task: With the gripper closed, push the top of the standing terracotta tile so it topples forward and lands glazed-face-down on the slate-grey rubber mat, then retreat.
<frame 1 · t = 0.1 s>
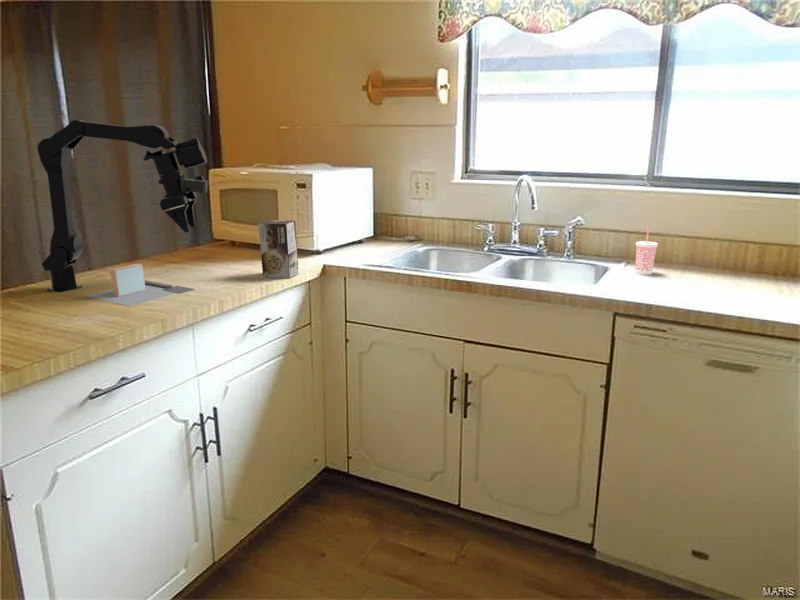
hand: (190, 229, 161), 15 cm above the worktop, tool pointing down, fingers open, 9 cm apart
coffee box: (280, 276, 175), on the worktop
beverage cup: (643, 273, 176), on the worktop
mat: (135, 295, 155), on the worktop
turner: (169, 289, 160), on the worktop
tile: (130, 292, 155), resting on mat
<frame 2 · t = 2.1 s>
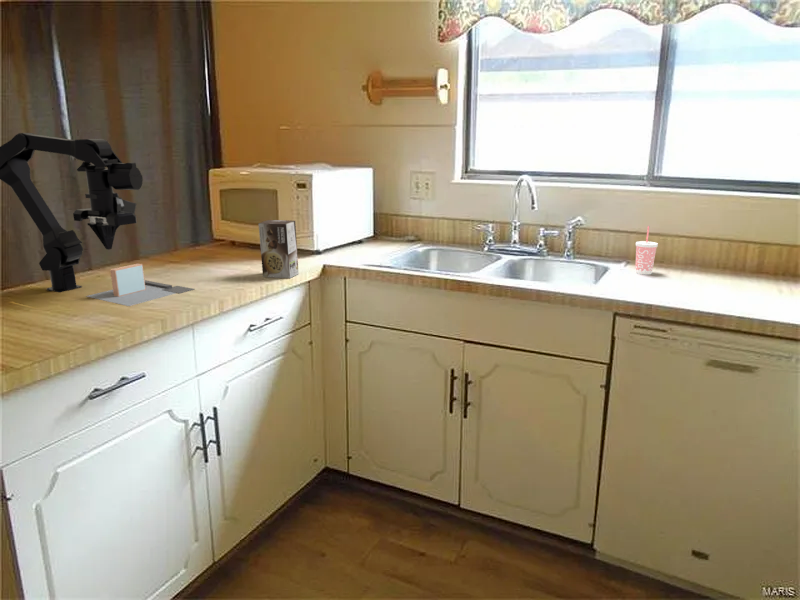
hand: (109, 249, 156), 11 cm above the worktop, tool pointing down, fingers closed
nothing on the worktop moved.
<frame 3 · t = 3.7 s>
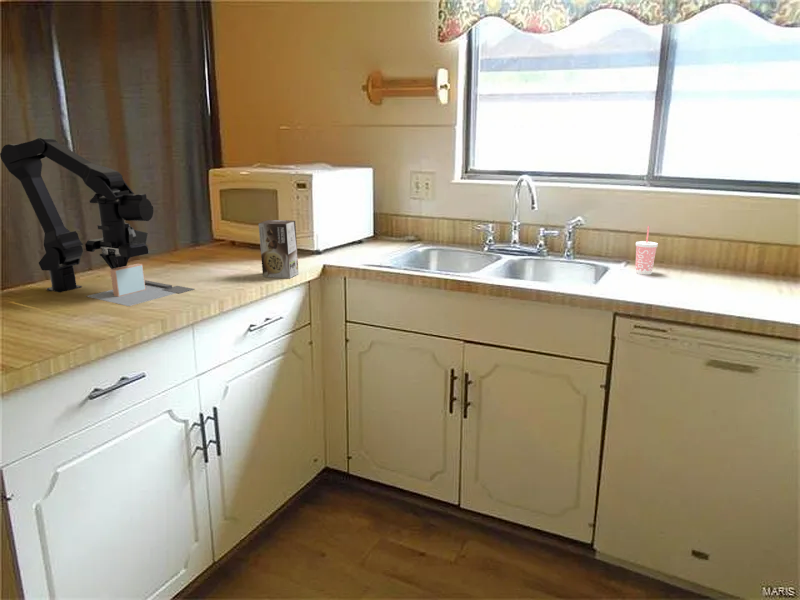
hand: (121, 279, 156), 4 cm above the worktop, tool pointing down, fingers closed
tile: (130, 292, 155), resting on mat, touching gripper
everything else where it was.
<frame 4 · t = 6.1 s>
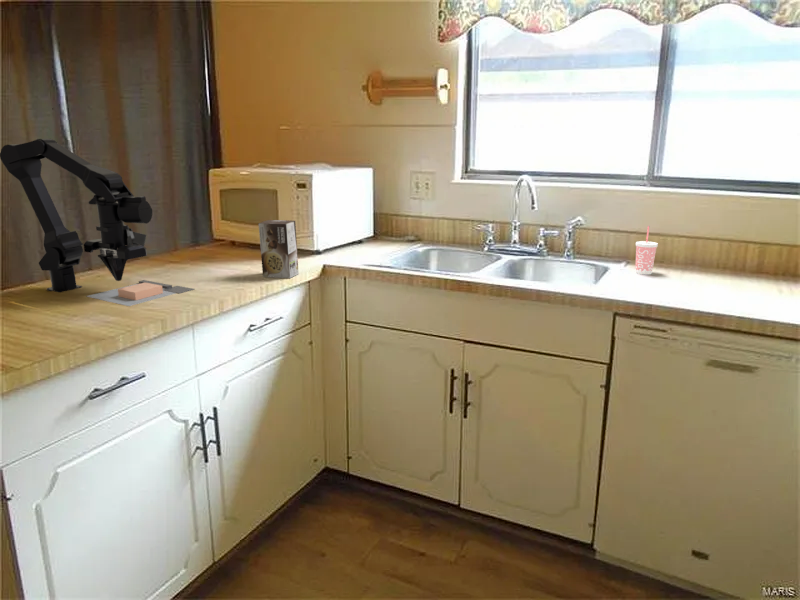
hand: (118, 280, 157), 3 cm above the worktop, tool pointing down, fingers closed
tile: (132, 289, 155), point 1 cm above the worktop, tilted 90°, touching mat
everything else where it was.
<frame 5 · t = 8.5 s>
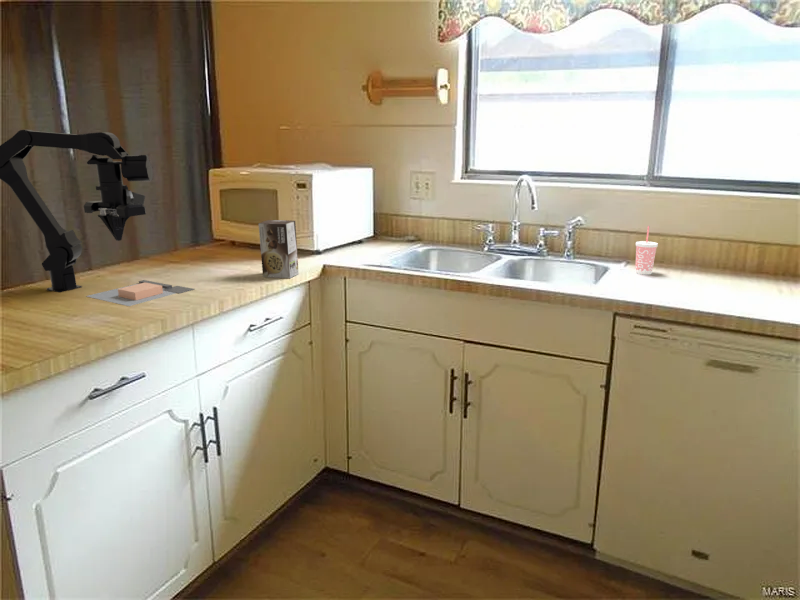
hand: (118, 240, 159), 13 cm above the worktop, tool pointing down, fingers closed
nothing on the worktop moved.
at the end: tile tilted 90°; tile inside the target area (1.4 cm from its centre), point 1.4 cm above the worktop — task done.
